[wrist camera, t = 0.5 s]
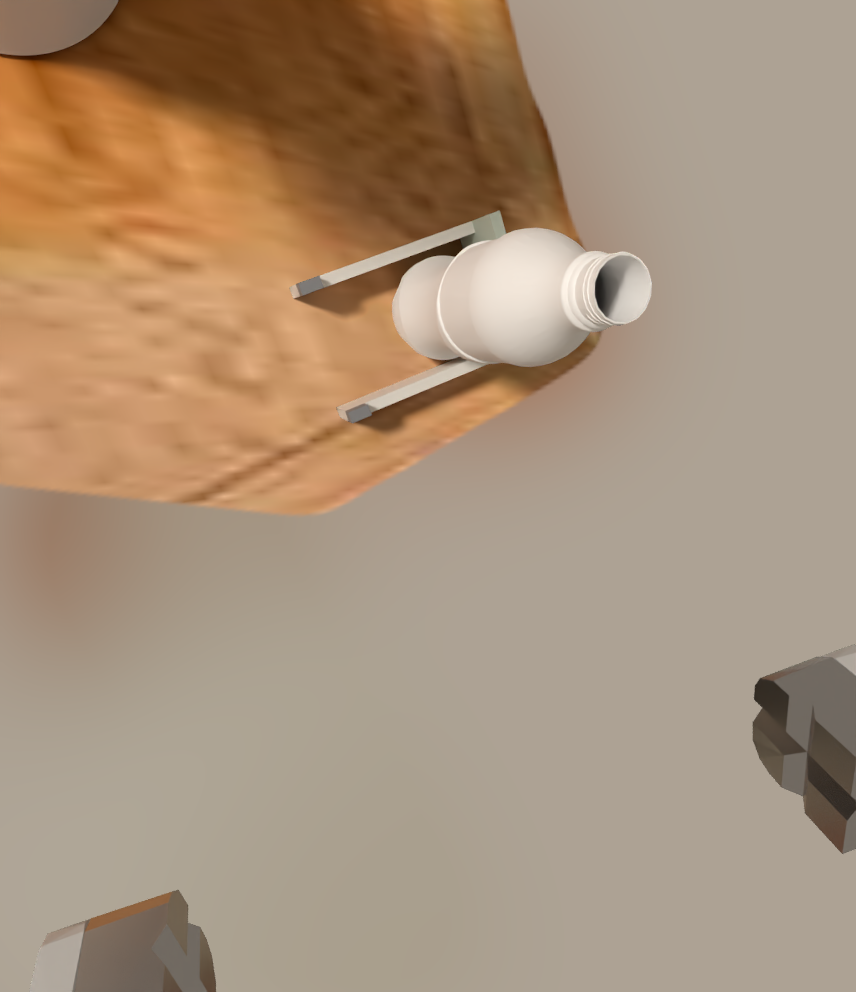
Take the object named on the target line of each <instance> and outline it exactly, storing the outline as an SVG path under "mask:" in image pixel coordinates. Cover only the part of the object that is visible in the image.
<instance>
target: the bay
mask: <svg viewBox="0 0 856 992" xmlns="http://www.w3.org/2000/svg"><path fill="white" fill-rule="evenodd" d="M505 234H506V231H505V228H504V224H503V221H502V217H501V214H500V210H499V211H496V212H494V213H491V214H488V215H486V216H483V217H481V218H478V219H476V220H473V221H470V222H468V223H465V224H462V225H459V226H457V227H454V228H451V229H448V230H445V231H443V232H440V233H437V234H434V235H432V236H429V237H426V238H423V239H420V240H418V241H415V242H412V243H409V244H407V245H404V246H401V247H398V248H395V249H393V250H390V251H387V252H384V253H382V254H379V255H376V256H373V257H370V258H368V259H365V260H362V261H359V262H357V263H354V264H351V265H348V266H345V267H343V268H340V269H337V270H334V271H332V272H329V273H326V274H323V275H320V276H317V277H314V278H312V279H309V280H306V281H303V282H300V283H298V284H296V285H293V286H291V287H289V288H290V291H291V293H292V296H293V299H294V298H297V297H300V296H303V295H305V294H308V293H311V292H314V291H316V290H319V289H322V288H324V287H327V286H330V285H333V284H335V283H338V282H341V281H344V280H346V279H349V278H352V277H355V276H357V275H360V274H363V273H366V272H368V271H371V270H374V269H377V268H379V267H382V266H385V265H388V264H390V263H393V262H396V261H398V260H401V259H404V258H407V257H409V256H412V255H415V254H418V253H420V252H423V251H426V250H429V249H431V248H434V247H437V246H440V245H442V244H445V243H448V242H451V241H453V240H456V239H459V238H460V241H461V244H462V247H463V249H464V248H466V247H467V246H469V245H471V244H473V243H477V242H480V241H486V240H495V239H498V238H500V237H501V236H503V235H505ZM485 365H487V364H484V363H476V362H471V361H468V360H465V359H463V358H461V357H458V358H456V359H453V360H451V361H449V362H446V363H444V364H441V365H439V366H436V367H434V368H431V369H429V370H426V371H424V372H422V373H419V374H417V375H414V376H412V377H409V378H407V379H404V380H402V381H399V382H397V383H395V384H392V385H390V386H387V387H385V388H382V389H380V390H377V391H375V392H372V393H370V394H368V395H365V396H363V397H360V398H358V399H355V400H353V401H350V402H348V403H345V404H343V405H341V406H338V407H336V408H337V411H338V413H339V416H340V418H342V419H344V420H346V421H349V422H351V423H354V422H357V421H359V420H362V419H364V418H366V417H369V416H371V415H372V414H371V412H374V411H376V410H379V409H381V408H383V407H386V406H388V405H391V404H393V403H396V402H398V401H400V400H403V399H405V398H408V397H410V396H412V395H415V394H417V393H420V392H422V391H424V390H427V389H429V388H432V387H434V386H437V385H439V384H441V383H444V382H446V381H449V380H451V379H453V378H456V377H458V376H461V375H463V374H466V373H468V372H470V371H473V370H475V369H478V368H480V367H482V366H485Z"/></svg>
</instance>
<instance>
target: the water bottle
mask: <svg viewBox="0 0 856 992" xmlns="http://www.w3.org/2000/svg"><path fill="white" fill-rule="evenodd" d="M651 286H652V281H651V278H650V274H649V271H648V269H647V267H646V266H645V264H644V263H643V262H642V261H641V259H639V258H638V257H637V256H635V255H633V254H631V253H628V252H619V253H613V254H608V253H605V252H600V251H589V252H586V251H585V250H584V249H583V248H582V247H581V246H580V245H579V244H578V243H577V242H576V241H574V240H572V239H571V238H569V237H567V236H566V235H564V234H562V233H559V232H556V231H553V230H549V229H543V228H525V229H519V230H514V231H512V232H509V233H507V234H505V235H503V236H501V237H500V238H498V239H495V240H486V241H480V242H477V243H473V244H471V245H469V246H467V247H466V248H464V249H463V250H462V251H460V252H459V253H458V254H457V256H456V257H453V256H445V255H444V256H433V257H430V258H427V259H424V260H422V261H421V262H419V263H417V264H415V265H414V266H413V267H411V268H410V269H409V270H408V271H407V272H406V273H405V274H404V275H403V277H402V279H401V282H400V284H399V287H398V289H397V291H396V294H395V296H394V298H393V302H392V315H393V321H394V324H395V327H396V330H397V332H398V334H399V335H400V336H401V338H402V339H403V340H404V341H405V342H407V343H408V344H409V345H410V346H411V347H412V348H413V349H414V350H415V351H416V352H417V353H418V354H420V355H423V356H426V357H428V358H432V359H437V360H449V359H454V358H457V357H461V358H463V359H465V360H468V361H471V362H476V363H484V364H497V363H509V364H512V365H516V366H522V367H534V366H542V365H546V364H550V363H552V362H555V361H557V360H559V359H561V358H563V357H565V356H567V355H568V354H570V353H571V352H572V351H574V350H575V349H576V348H577V347H578V346H579V345H580V344H581V343H582V342H583V341H584V340H585V339H586V338H587V336H588V335H589V334H590V332H598V331H602V330H605V329H607V328H609V327H611V326H614V325H617V326H620V325H624V324H627V323H630V322H631V321H633V320H636V319H637V318H638V317H639V316H640V315H641V314H642V313H643V312H644V310H645V309H646V307H647V305H648V302H649V300H650V297H651Z"/></svg>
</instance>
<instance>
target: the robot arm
mask: <svg viewBox="0 0 856 992" xmlns="http://www.w3.org/2000/svg"><path fill="white" fill-rule="evenodd" d="M118 1H119V0H0V53H1V54H7V55H39V54H46V53H51V52H55V51H59V50H62V49H65V48H67V47H70V46H72V45H74V44H76V43H78V42H80V41H82V40H83V39H85V38H86V37H88V36H89V35H90V34H92V33H93V32H94V31H95V30H97V29H98V28H99V27H100V26H101V25H102V24H103V23H104V21H105V20H106V19H107V18H108V17H109V15H110V14H111V13H112V11H113V10H114V8H115V6H116V5H117V3H118ZM754 700H755V701H756V702H757V703H758V704H759V705H760V706H761V707H762V709H761V711H760V712H759V714H758V715H757V717H756V718H755V720H754V721H753V742H754V744H755V747H756V750H757V752H758V755H759V758H760V760H761V761H762V763H763V765H764V766H765V768H766V769H767V771H768V772H769V774H770V775H771V776H772V777H773V778H774V779H775V780H776V782H777V783H778V784H779V785H780V786H781V787H782V788H784V789H787V790H789V791H792V792H794V793H796V794H799V795H801V796H803V801H804V809H805V814H806V815H807V816H808V817H809V818H810V819H811V820H812V821H813V823H815V825H816V826H817V827H818V828H819V829H820V830H821V831H822V832H823V833H824V834H825V836H826V837H827V838H828V839H829V840H830V841H831V842H832V843H833V844H834V845H835V847H836V848H837V849H838V850H839V851H840V852H841V853H842V854H843V853H846V852H849V851H852V850H854V849H856V645H855V644H854V645H851V646H848V647H845V648H842V649H839V650H837V651H834V652H831V653H828V654H826V655H823V656H821V657H815V658H813V659H810V660H807V661H804V662H802V663H799V664H797V665H794V666H791V667H789V668H786V669H783V670H781V671H778V672H775V673H773V674H770V675H767V676H765V677H762V678H760V679H759V681H758V682H757V684H756V685H755V693H754ZM29 992H216V980H215V973H214V967H213V960H212V955H211V952H210V948H209V945H208V942H207V939H206V937H205V935H204V934H203V932H202V930H201V928H200V927H199V926H196V925H193V924H190V923H188V904H187V903H186V901H185V900H184V898H183V896H182V895H181V893H180V892H179V890H176V891H172V892H169V893H167V894H164V895H161V896H157V897H154V898H151V899H148V900H145V901H142V902H139V903H136V904H133V905H130V906H127V907H124V908H121V909H118V910H115V911H112V912H109V913H106V914H103V915H100V916H97V917H94V918H91V919H88V920H86V921H83V922H80V923H77V924H74V925H71V926H69V927H65V928H63V929H60V930H57V931H54V932H51V933H48V934H47V936H46V938H45V940H44V942H43V943H42V945H41V947H40V949H39V951H38V956H37V960H36V964H35V969H34V973H33V977H32V982H31V987H30V991H29Z"/></svg>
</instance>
